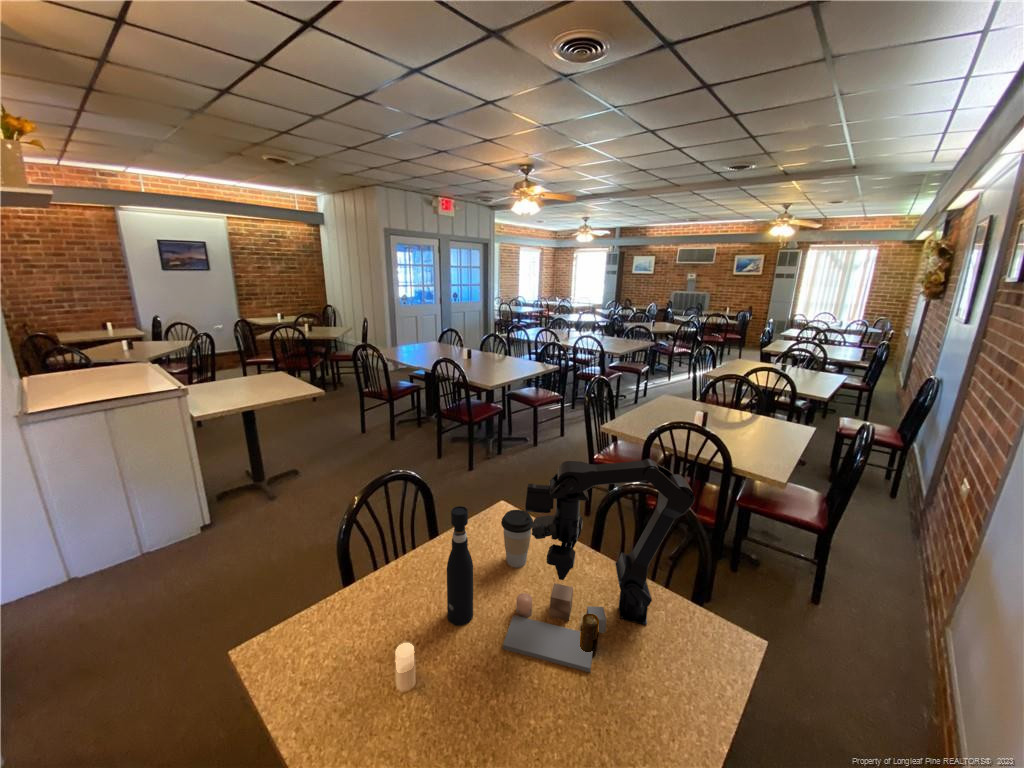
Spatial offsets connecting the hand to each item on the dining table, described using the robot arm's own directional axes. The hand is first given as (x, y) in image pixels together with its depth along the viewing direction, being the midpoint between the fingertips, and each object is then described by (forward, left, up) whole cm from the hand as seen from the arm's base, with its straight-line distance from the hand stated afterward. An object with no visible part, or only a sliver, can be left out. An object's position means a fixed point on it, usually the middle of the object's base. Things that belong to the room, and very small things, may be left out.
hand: (564, 567), depth 106 cm
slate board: (+1, +12, -12) cm, 17 cm away
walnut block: (0, +2, -12) cm, 12 cm away
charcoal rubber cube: (-9, +4, -12) cm, 16 cm away
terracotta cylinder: (+9, +5, -12) cm, 16 cm away
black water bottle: (+24, +11, -12) cm, 29 cm away
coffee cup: (+16, -13, -12) cm, 24 cm away
